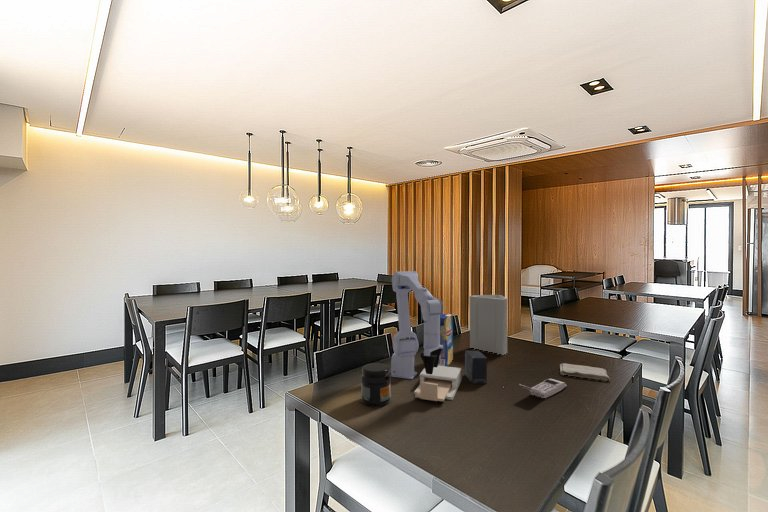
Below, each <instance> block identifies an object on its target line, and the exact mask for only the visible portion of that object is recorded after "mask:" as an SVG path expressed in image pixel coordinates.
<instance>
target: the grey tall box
mask: <svg viewBox="0 0 768 512" xmlns="http://www.w3.org/2000/svg"><path fill="white" fill-rule="evenodd" d="M470 348H474V349H473V350H475V349H479V350H483V351H482V352H484V351H488V352H487V353H489V352H493V353H492V354H494V353H497V354H496V355H499V354H501V355H500V356H505V355H507V354H508V298H507V297H505V296H504V295H501V294H478V295H475V294H474V295H470V296H469V349H470ZM479 350H478V351H479ZM506 353H507V354H506ZM504 354H505V355H504Z"/></svg>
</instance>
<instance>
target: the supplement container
mask: <svg viewBox="0 0 768 512" xmlns="http://www.w3.org/2000/svg"><path fill="white" fill-rule="evenodd" d="M361 372H362V375H361V376H360V383H361V386H360V388H361V389H360V390H361V393H360V395H361V396H360V400H361V402H362V403H363V404H364V405H366V406H369V407H381V406H382V407H383V406H385V405H388V404H389V403H390V401H391V399H392V395H391V393H392V391H391V388H392V387H391V386H392V385H391V381H392V379H391V378H392V377H391V374H390V367H389V365H388V364H385V363H381V362H374V363H367V364H365V365H363V366H362V368H361Z"/></svg>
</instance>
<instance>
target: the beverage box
mask: <svg viewBox="0 0 768 512" xmlns="http://www.w3.org/2000/svg"><path fill="white" fill-rule="evenodd" d="M453 315H454V314H450V313H449V314H448V313H442V314H441V315H440V345H443V349H442V351H441V354H440V357H439V362H438V366H446V367H449V365H450V364H451V363H452V362H453V361H454V353H453V352H454V325H453V324H454V319H453V318H454V316H453ZM452 360H453V361H452Z"/></svg>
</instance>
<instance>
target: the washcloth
mask: <svg viewBox="0 0 768 512" xmlns="http://www.w3.org/2000/svg"><path fill="white" fill-rule="evenodd" d="M559 369H560V370H559V372H560V375H561V376H564V375H568V376H567V377H570V376H578V377H587V378H594V379H603V380H609V381H608V382H610V381H611V379H610V376H609V375H608V372H607V370H606V369H605V368H601V367H593V366H590V365H589V366H588V365H580V364H572V363H564V362H563V363H560V364H559Z"/></svg>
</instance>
